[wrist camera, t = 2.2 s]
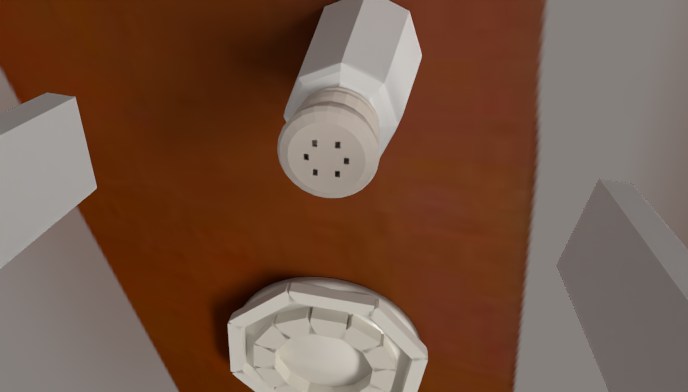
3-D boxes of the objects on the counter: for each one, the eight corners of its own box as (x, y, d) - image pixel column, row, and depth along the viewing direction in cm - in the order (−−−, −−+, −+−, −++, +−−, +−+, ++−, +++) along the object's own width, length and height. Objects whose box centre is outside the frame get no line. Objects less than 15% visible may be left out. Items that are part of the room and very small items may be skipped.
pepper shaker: (310, 101, 23) (238, 229, 13) (307, -14, 20) (214, 49, 10) (415, 109, 22) (416, 248, 13) (429, -9, 19) (444, 63, 10)
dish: (234, 261, 29) (223, 281, 28) (440, 296, 29) (442, 320, 27) (240, 383, 37) (232, 405, 35) (403, 413, 36) (402, 437, 35)
